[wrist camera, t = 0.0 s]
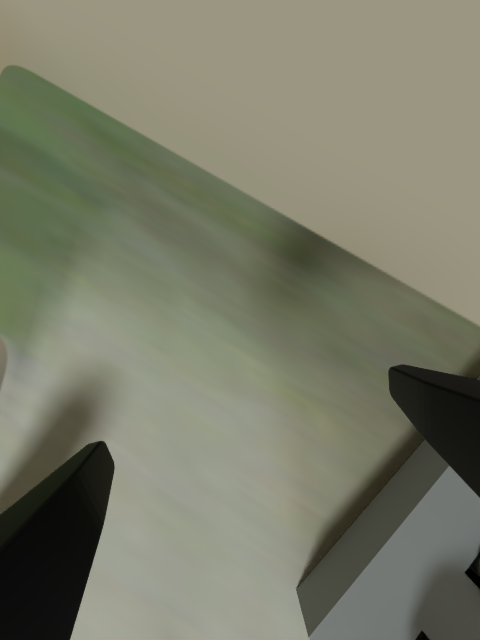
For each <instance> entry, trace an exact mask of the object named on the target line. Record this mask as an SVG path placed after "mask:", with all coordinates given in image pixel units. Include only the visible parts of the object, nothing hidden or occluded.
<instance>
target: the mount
mask: <svg viewBox="0 0 480 640" xmlns="http://www.w3.org/2000/svg"><path fill="white" fill-rule="evenodd" d="M477 379H478V380H480V376H479V377H478V378H477ZM479 552H480V498H479V497H478V496H477V495H476V493H475V492H474V491H473V490H472V489H471V488H470V487H469V486H468V485H467V484H466V483H465V482H464V481H463V480H462V479H461V477H460V476H459V475H458V474H457V473H456V472H455V471H454V470H453V469H452V468H451V467H450V466H449V465H448V464H447V463H446V462H445V460H444V459H443V458H442V457H441V456H440V455H439V454H438V453H437V452H436V451H435V450H434V449H433V448H432V447H431V446H430V444H429V443H428V442H427V441H426V440H424V441H423V442H422V443H421V444H420V446H419V447H418V448H417V449H416V450H415V451H414V453H413V454H412V455H411V456H410V457H409V458H408V459H407V461H406V462H405V463H404V464H403V465H402V466H401V468H400V469H399V470H398V471H397V472H396V473H395V475H394V476H393V477H392V478H391V479H390V480H389V482H388V483H387V484H386V485H385V486H384V487H383V489H382V490H381V491H380V492H379V493H378V494H377V496H376V497H375V498H374V499H373V500H372V501H371V503H370V504H369V505H368V506H367V507H366V508H365V510H364V511H363V512H362V513H361V514H360V515H359V517H358V518H357V519H356V520H355V521H354V522H353V524H352V525H351V526H350V527H349V528H348V529H347V531H346V532H345V533H344V534H343V535H342V536H341V538H340V539H339V540H338V541H337V542H336V543H335V545H334V546H333V547H332V548H331V549H330V550H329V552H328V553H327V554H326V555H325V556H324V557H323V559H322V560H321V561H320V562H319V563H318V564H317V566H316V567H315V568H314V569H313V570H312V571H311V573H310V574H309V575H308V576H307V577H306V578H305V580H304V581H303V582H302V583H301V584H300V585H299V587H298V588H297V589H296V591H297V595H298V598H299V602H300V606H301V610H302V614H303V618H304V621H305V625H306V629H307V633H308V637H309V639H310V640H415V639H416V638H417V636H418V635H419V634H420V632H421V631H423V632H424V633H425V634H426V636H427V637H428V638H429V639H430V640H480V589H479V588H478V587H477V586H476V585H475V584H474V582H473V581H472V580H471V579H470V578H469V577H468V576H467V575H466V574H465V571H466V570H467V569H468V567H469V566H470V565H471V563H472V562H473V561H474V559H475V558H476V557H477V555H478V554H479Z"/></svg>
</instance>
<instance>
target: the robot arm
mask: <svg viewBox="0 0 480 640" xmlns="http://www.w3.org/2000/svg"><path fill="white" fill-rule="evenodd" d="M388 375H389V390H390V394H391V396H392V398H393V399H394V401H395V402H396V403H397V404H398V406H399V407H400V408H401V410H402V411H403V412H404V414H405V415H406V416H407V417H408V419H409V420H410V421H411V423H412V424H413V425H414V426H415V428H416V429H417V430H418V432H419V433H420V434H421V435H422V436H423V438H424V439H425V440H426V441H427V442H428V443H429V444H430V446H431V447H432V448H433V449H434V450H435V451H436V452H437V453H438V454H439V455H440V456H441V457H442V458H443V459H444V460H445V462H446V463H447V464H448V465H449V466H450V467H451V468H452V469H453V470H454V471H455V472H456V473H457V474H458V475H459V476H460V477H461V479H462V480H463V481H464V482H465V483H466V484H467V485H468V486H469V487H470V488H471V489H472V490H473V491H474V492H475V493H476V495H477V496H478V497H479V498H480V380H478V379H473V378H468V377H463V376H458V375H453V374H448V373H443V372H438V371H433V370H428V369H423V368H418V367H414V366H409V365H397V366H394V367H391V368H390V369H389V371H388ZM113 475H114V461H113V459H112V456H111V454H110V452H109V450H108V447H107V445H106V443H105V442H104V441H98V442H94V443H90V444H88V445H86V446H85V447H84V448H83V449H81V450H80V451H79V452H78V453H76V454H75V455H74V456H73V457H71V458H70V459H69V460H68V461H67V462H65V463H64V464H63V465H62V466H60V467H59V468H58V469H57V470H55V471H54V472H53V473H52V474H50V475H49V476H48V477H47V478H45V479H44V480H43V481H42V482H40V483H39V484H38V485H37V486H35V487H34V488H33V489H32V490H30V491H29V492H28V493H27V494H25V495H24V496H23V497H22V498H21V499H19V500H18V501H17V502H16V503H14V504H13V505H12V506H11V507H9V508H8V509H7V510H6V511H4V512H3V513H2V514H1V515H0V640H70V638H71V635H72V631H73V628H74V624H75V621H76V618H77V614H78V611H79V607H80V604H81V601H82V597H83V594H84V590H85V587H86V583H87V580H88V577H89V573H90V570H91V566H92V563H93V560H94V556H95V553H96V549H97V546H98V543H99V539H100V536H101V532H102V529H103V525H104V520H105V516H106V511H107V506H108V501H109V495H110V490H111V485H112V480H113Z"/></svg>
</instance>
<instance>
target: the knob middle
mask: <svg viewBox="0 0 480 640" xmlns="http://www.w3.org/2000/svg"><path fill="white" fill-rule="evenodd" d="M468 568H470V569H471V570H472V571H473V572H475V573H476V574H477V575H479V576H480V552H479V554H478V555H477V557H476V558H475V559H474V561H473V562H472V563H471V565H470V566H469V567H468Z"/></svg>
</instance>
